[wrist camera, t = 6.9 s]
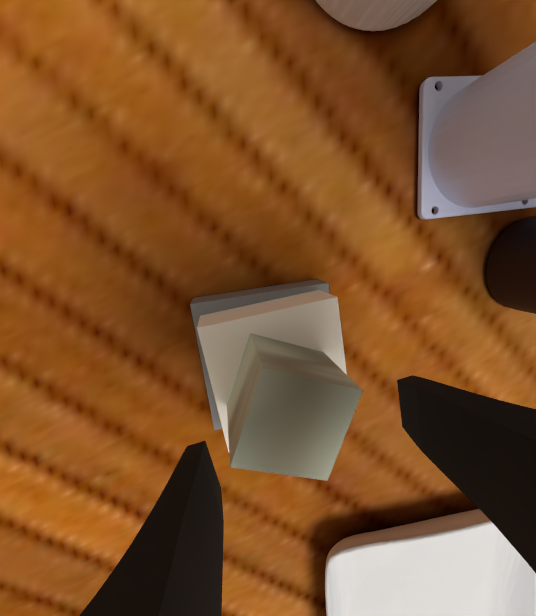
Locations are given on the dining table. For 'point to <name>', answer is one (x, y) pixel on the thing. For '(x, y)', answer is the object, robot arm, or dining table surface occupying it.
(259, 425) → the sage cube
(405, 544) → the salad plate
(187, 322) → the dining table surface
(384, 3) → the ramekin
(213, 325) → the cream slab
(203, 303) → the charcoal slab
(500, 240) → the bottle
